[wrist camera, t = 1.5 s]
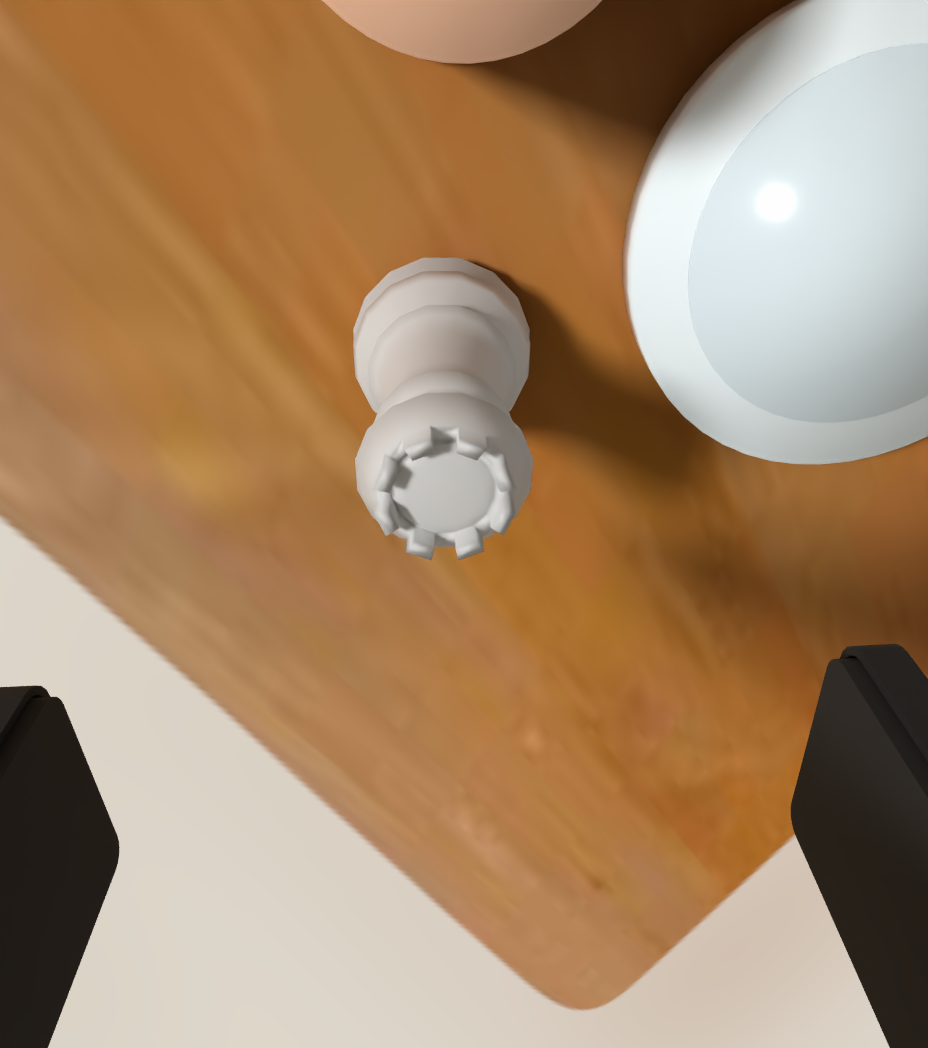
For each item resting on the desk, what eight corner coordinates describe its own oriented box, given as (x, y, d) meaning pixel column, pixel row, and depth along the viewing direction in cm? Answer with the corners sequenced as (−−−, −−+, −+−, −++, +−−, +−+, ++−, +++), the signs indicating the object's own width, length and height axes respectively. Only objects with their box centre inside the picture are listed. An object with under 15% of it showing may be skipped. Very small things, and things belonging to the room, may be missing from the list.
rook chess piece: (563, 316, 20) (627, 470, 14) (464, 447, 22) (476, 637, 16) (415, 212, 19) (404, 328, 12) (322, 362, 21) (269, 533, 14)
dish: (640, -21, 17) (656, -23, 15) (1172, -45, 17) (1226, -48, 15) (608, 452, 23) (617, 476, 21) (999, 434, 23) (1029, 457, 21)
